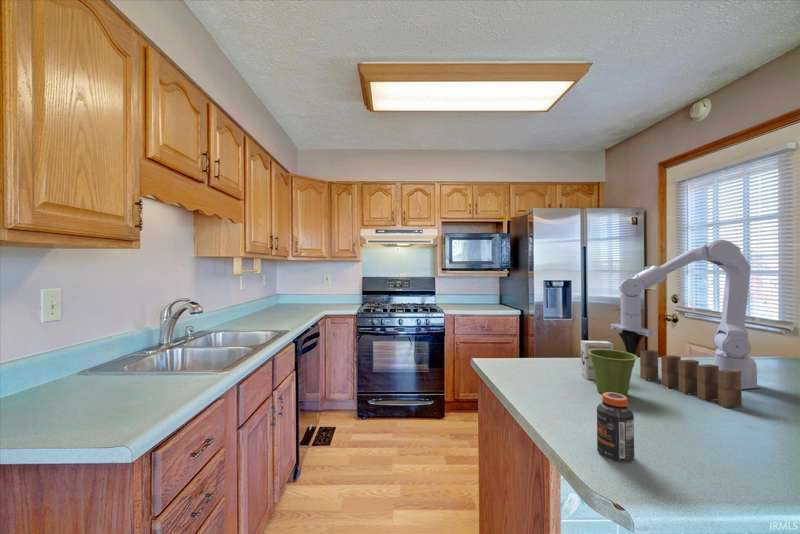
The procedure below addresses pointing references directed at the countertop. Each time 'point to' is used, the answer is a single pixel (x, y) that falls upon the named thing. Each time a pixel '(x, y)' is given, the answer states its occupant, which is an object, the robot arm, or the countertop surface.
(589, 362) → the ink box
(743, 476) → the countertop surface
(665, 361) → the domino
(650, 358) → the domino
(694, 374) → the domino
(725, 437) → the countertop surface
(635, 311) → the robot arm
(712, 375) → the domino
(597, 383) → the plant pot
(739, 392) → the domino
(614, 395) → the pill bottle
